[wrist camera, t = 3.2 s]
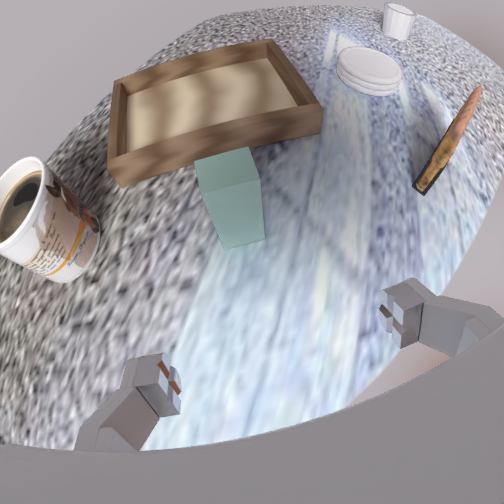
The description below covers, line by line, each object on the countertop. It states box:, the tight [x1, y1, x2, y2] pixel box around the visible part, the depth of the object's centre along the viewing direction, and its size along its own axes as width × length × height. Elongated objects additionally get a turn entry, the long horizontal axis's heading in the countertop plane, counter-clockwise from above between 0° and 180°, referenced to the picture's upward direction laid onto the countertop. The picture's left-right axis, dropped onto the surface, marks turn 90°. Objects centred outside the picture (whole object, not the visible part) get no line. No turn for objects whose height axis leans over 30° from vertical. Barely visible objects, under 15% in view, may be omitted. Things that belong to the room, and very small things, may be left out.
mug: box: [0, 156, 100, 283], centre depth 25 cm, size 10×12×11 cm
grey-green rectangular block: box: [194, 147, 265, 250], centre depth 24 cm, size 4×3×10 cm
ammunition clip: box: [412, 86, 481, 196], centre depth 25 cm, size 11×2×12 cm, turn 137°
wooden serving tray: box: [107, 39, 323, 188], centre depth 34 cm, size 24×18×4 cm
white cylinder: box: [382, 3, 417, 40], centre depth 40 cm, size 7×7×7 cm
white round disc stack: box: [337, 47, 402, 97], centre depth 35 cm, size 10×10×4 cm
